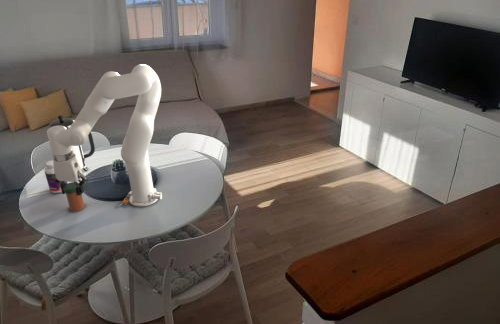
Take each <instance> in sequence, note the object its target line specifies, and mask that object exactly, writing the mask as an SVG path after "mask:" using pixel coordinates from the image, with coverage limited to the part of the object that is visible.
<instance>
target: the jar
mask: <svg viewBox="0 0 500 324" xmlns="http://www.w3.org/2000/svg"><path fill="white" fill-rule="evenodd" d="M65 197H66V200H67V204H68V208H69V211H71V212H79V211H81V210H83V209H84V208H85V203H84V198H83V193H82V194H81V195H80V196H79V195H78V192H75V193H71V194H67V193H65Z"/></svg>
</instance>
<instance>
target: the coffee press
mask: <svg viewBox="0 0 500 324" xmlns="http://www.w3.org/2000/svg"><path fill="white" fill-rule="evenodd" d="M74 120H75V119H73V118H69V117H64V116H63V115H62V114H59V115H58V116H57V119H54V120H53V121H51V122H50V123H49V126H48V129H49V128H51V127H53V126H64V127H66V129H69V128H70V127H71V125H72V124H73V122H74ZM87 139H88V143H89V146H90V150H89V152H88V153H86V154H84V152H83V148H82V145H80V146H71V147H72V151H73V154H75V157H76V158H77V160H78V162H79V165H80V167H81V170H82V171H84V172H88V170H89V167H88V166H87V165H86V159H87V158H90V157H91V156H93V155H94V153H95V151H96V147H95V142H94V137H93V134H92V132H91V131H90V133H89V135H88V138H87Z"/></svg>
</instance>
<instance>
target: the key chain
mask: <svg viewBox="0 0 500 324" xmlns="http://www.w3.org/2000/svg"><path fill="white" fill-rule="evenodd" d="M131 196H132V191H131V190H130V191H129V192H128V193H127V195H125V198H124V199H123V200H122V203H120V204H118V205H117V206H116V208H119V207H121V206H122V205H123V204H124V206H126V205H128V204H130V201H129V199H130V197H131Z"/></svg>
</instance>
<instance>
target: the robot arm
mask: <svg viewBox="0 0 500 324" xmlns="http://www.w3.org/2000/svg"><path fill="white" fill-rule="evenodd" d="M134 96H138V97H137V99H136V104H135V107H134V110H133V112H132V115H131V117H130V119H129V123H128V127H127V130H126V134H125V136H124V137H123V141H122V144H121V149H120V157H121V160H122V161H123V162H124V163H125V164H126V170H127V176H128V180H129V185H130V191H132V196H131V197H130V199H128V200H129V204H130V205H131V206H134V207H137V208H138V207H139V208H141V207H148V206H152V205H154V203H156V202H157V201H158V200H160V201H161V200H162V199H163V193H162V192H158V191H157V188H155V187H154V182H153V177H152V170H151V164H150V163H151V162H150V157H149V147H150V144H151V141H152V138H153V135H154V130H155V118H156V116H157V112H158V109H159V105H160V101H161V98H162V84H161V80H160V77H159V76H158V74H157V73H156V71H155V70H154V69H153V68H152V67H150V65H147V64H143V63H142V64H141V63H140V64H137V65H135V66H134V67H133V69H131V72H130V73H123V74H119V73H118V72H116V71H112V70H111V71H107V72H105V73H104V74H103V75H102V76H101V78H100V79H99V80H98V81H97V83H96V84H95V87H94V88H93V90H92V91H91V93H90V94H89V96H88V97H87V99H86V100H85V102H84V105H83V107H82V108H81V110H80V111H79V113H78V114H77V116H76V118H75V119H73V120H74V122H73V124H72V125H71V127H70V128H69V129H66V127H64V126H53V127H51V128H49V127H48V129H47V130H46V135H47V136H46V137H47V139H48V142H49V146H50V150H51V153H52V157H53V159H52V160H53V165H54V172H55V173H54V174H53V175H52V178H53V179H54V180H55V181H56V182H57V183H58V185H59V186H61V190H62V192H61V194H62V195H66V193H64V191H63V186H64V185H66V183H65V181H67V183H71V182H74V183H75V184H76V185H77V192H78V195H79V196H80V195H81V194H82V195H83V194H84V192H85V190H84V186H83V185H84V184H85V183H86V181H87V180H88V176H85V175H84V174H83V169H81V167H80V165H79V162H78V160H77V158H76V157H75V154H73V151H72V147H71V146H80V145H81V146H83V145H84V144H85V143H86V142H87V140H88V139H89V138H88V135H89V133H90V132H91V131H92V129H93V128H94V126H95V125H96V123H98V120H99V119H100V118H101V117H102V116H104V115H105V114H107V112H108V110H109V109H110V108H111V106H112V104H113V103H114V102H115V100H119V99H124V98H128V97H129V98H130V97H134Z"/></svg>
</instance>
